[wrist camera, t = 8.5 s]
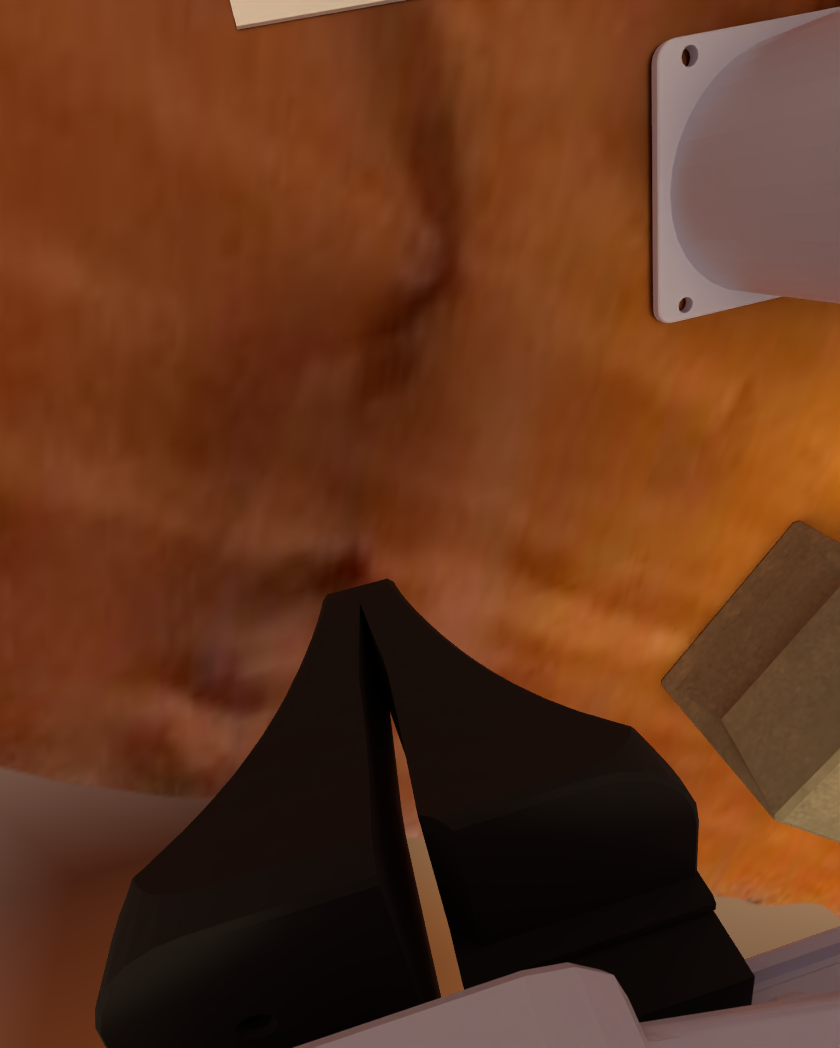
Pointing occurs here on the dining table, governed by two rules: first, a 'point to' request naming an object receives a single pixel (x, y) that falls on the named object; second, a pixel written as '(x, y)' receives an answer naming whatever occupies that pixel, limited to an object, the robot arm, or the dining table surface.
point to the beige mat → (291, 9)
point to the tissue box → (775, 682)
